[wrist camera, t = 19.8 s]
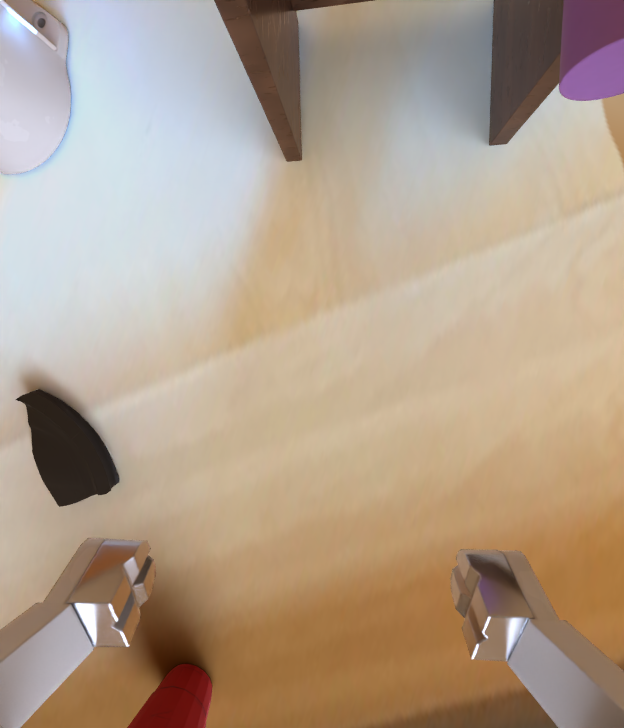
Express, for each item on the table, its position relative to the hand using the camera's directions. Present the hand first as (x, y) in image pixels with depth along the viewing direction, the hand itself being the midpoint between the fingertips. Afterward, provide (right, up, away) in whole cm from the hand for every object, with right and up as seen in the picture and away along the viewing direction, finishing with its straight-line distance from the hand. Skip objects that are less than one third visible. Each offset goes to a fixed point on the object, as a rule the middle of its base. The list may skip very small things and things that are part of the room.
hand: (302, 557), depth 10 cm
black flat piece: (-27, -5, +32) cm, 42 cm away
